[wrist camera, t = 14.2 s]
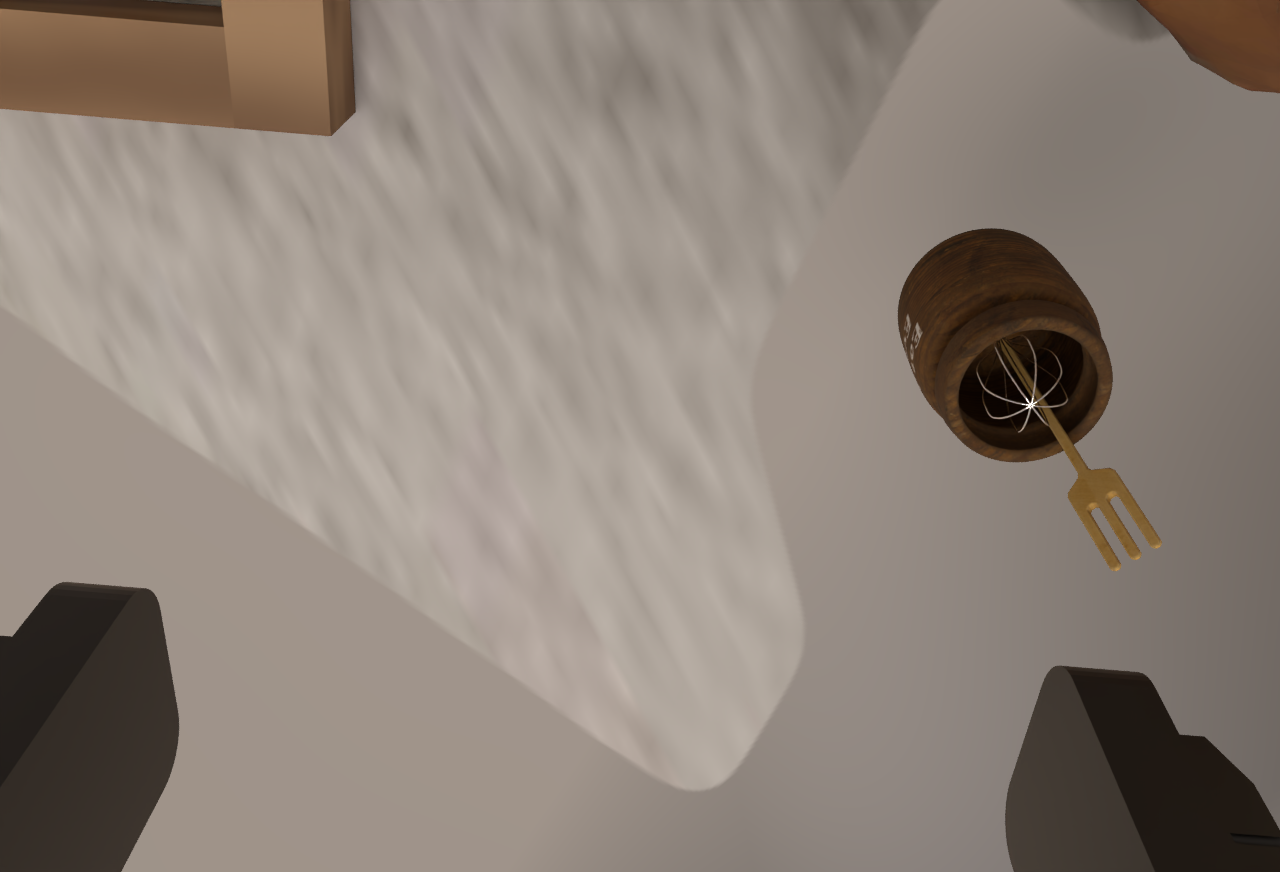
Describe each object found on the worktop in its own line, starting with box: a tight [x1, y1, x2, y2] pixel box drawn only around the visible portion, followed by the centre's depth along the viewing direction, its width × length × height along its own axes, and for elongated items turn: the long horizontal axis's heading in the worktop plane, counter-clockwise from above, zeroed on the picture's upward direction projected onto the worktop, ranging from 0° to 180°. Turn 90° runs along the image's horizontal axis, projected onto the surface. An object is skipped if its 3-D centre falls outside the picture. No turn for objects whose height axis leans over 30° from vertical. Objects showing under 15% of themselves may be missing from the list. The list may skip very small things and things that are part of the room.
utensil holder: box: [898, 229, 1162, 571], centre depth 35 cm, size 6×6×12 cm
